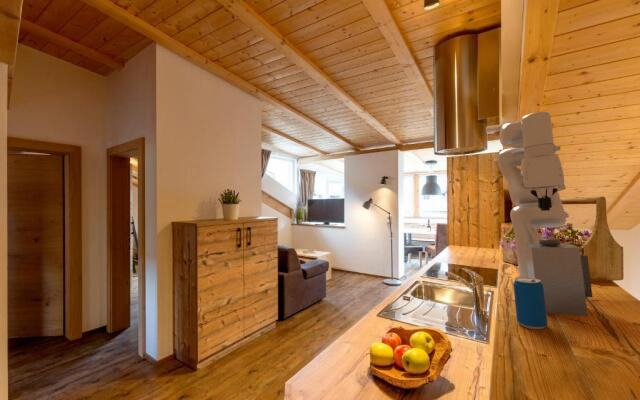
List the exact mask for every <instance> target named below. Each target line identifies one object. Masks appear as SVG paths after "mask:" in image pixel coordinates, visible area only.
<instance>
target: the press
mask: <svg viewBox="0 0 640 400" xmlns="http://www.w3.org/2000/svg"><path fill="white" fill-rule="evenodd" d="M525 252H526V261H527V270H528V278H536V279H539V280H541V283H542V284H543V288H544V297H545V306H546V314H554V315H555V314H556V315H569V316H581V317H588V315H589V314H588V307H587V299H586V298H593V291H592V290H593V289H592V282H591V281H592V280H591V274H590V266H589V259H588V255H587V254H581V250H580V246H576V245H574V244H571V243H568V242H560V245H553V246H547V245H540V244H539V243H525Z"/></svg>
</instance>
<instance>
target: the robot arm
mask: <svg viewBox="0 0 640 400" xmlns="http://www.w3.org/2000/svg"><path fill="white" fill-rule="evenodd" d="M498 133H499V134H498V138H499V142H500V144H501V146H502V147H510V148H507V149H504V150H501V151H499V153H498V154H497V158H496V159H497V160H496V161H497V166H498V168H499V171H500V173H501V175H502V176H503V177H504V179H505V181H506V182H507V187H508V192H509V195H510V196H509V197H510V200H511V203H512V204H513V205H514V207H513V208H512V209H511V210H510V213H509V215H510V216H509V217H510V220H511V224H512V228H513V232H514V233H513V234H514V239H515V247H516V255H517V256H516V257H517V258H516V259H517V266H518V267H517V268H518V273H519V274H518V276H519V277H528V270H527V261H526V252H525V243H539V239H544V238H545V237H544V236H542V235H541V233H539V232H538V231H537V230H536V229H548V228H549V229H551V228H561V227H563V226H564V225H565V224H566V222H567V218H566V217H567V215H566V210H565V208H564V204H563V202H562V199H561V197H560V194H559V192H560V191H564V190H566V189H567V187H566V185H565V176H564V170H563V166H562V163H561V160H560V157H559V155H558V154H557V153H556V152H558V151H561V146H560V145H555V143H554V142H555V141H554V136H553V134H554V133H553V123H552V117H551V113H549V112H547V111H537V112H536V111H535V112H533V113H529V114H526V115H524V116H523V117H522V118H521V120H519V121H514V122H509V123H505V124H503V125H502V126H501V127H500V129H499V132H498ZM519 167H520V168H519Z"/></svg>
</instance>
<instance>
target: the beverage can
mask: <svg viewBox="0 0 640 400" xmlns="http://www.w3.org/2000/svg"><path fill="white" fill-rule="evenodd" d="M512 285H513V293H514V295H513V296H514V303H515V304H514V305H515V313H516V321H517V323H518V324H519V325H521V326H522V327H524V328H527V329H531V330H542V329H545V327H547V326H548V317H547V313H546V306H545V297H544V288H543V284H542V283H541V280H539V279H536V278H528V277H520V276H519V277H515V278H514V281H513V283H512Z"/></svg>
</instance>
